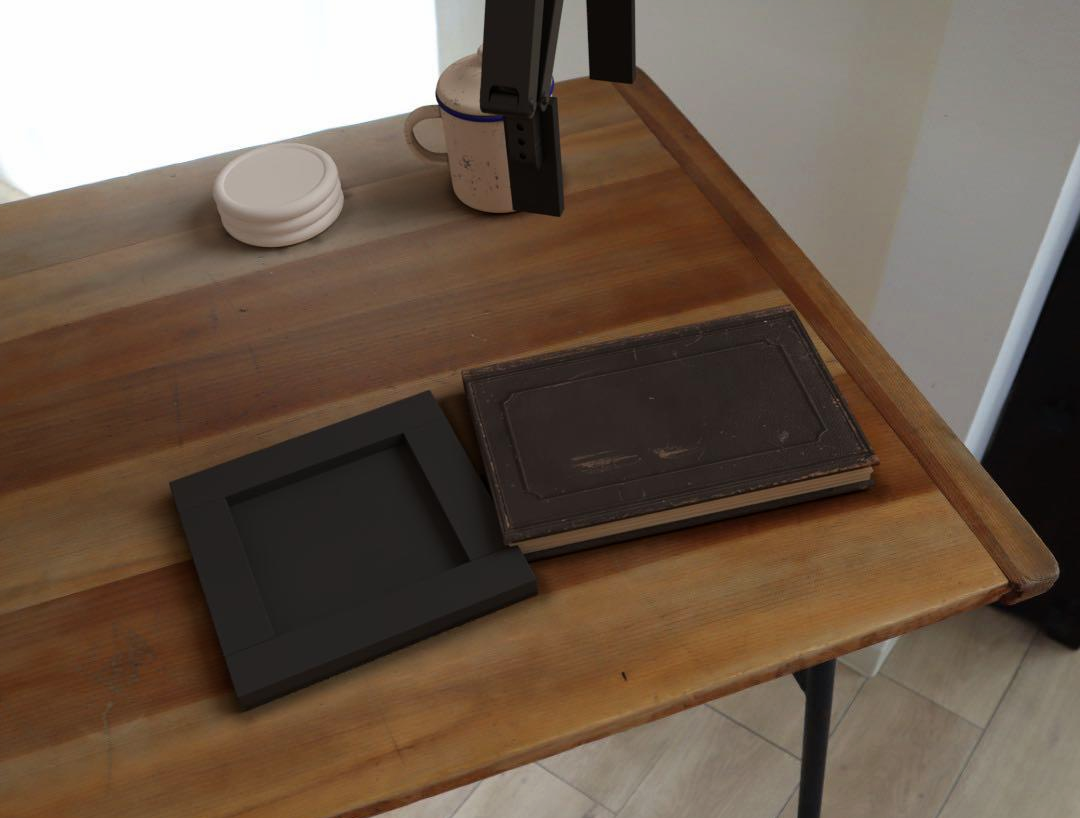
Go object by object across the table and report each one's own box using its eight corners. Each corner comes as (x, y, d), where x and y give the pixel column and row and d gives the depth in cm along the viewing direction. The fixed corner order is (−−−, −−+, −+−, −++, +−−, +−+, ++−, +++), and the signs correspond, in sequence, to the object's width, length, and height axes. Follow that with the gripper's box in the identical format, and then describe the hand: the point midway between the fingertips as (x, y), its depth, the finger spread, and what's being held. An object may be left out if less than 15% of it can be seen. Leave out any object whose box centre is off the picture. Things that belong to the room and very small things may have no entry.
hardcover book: (875, 487, 72) (880, 461, 70) (507, 566, 70) (504, 541, 69) (786, 324, 82) (788, 298, 81) (464, 390, 81) (459, 365, 79)
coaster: (370, 205, 96) (361, 167, 93) (274, 266, 91) (262, 228, 89) (293, 163, 100) (283, 126, 98) (199, 219, 96) (185, 182, 93)
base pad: (175, 497, 77) (168, 481, 75) (433, 405, 80) (430, 388, 79) (244, 712, 66) (236, 697, 64) (539, 594, 69) (537, 578, 68)
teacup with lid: (559, 147, 99) (548, 11, 90) (564, 211, 93) (553, 73, 84) (417, 160, 99) (392, 26, 90) (413, 225, 93) (387, 88, 84)
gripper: (541, -183, 43) (571, 285, 59) (710, -383, 57) (696, 38, 73) (354, -193, 45) (434, 263, 61) (563, -384, 59) (582, 26, 75)
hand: (577, 141), depth 67 cm, fingers open, 13 cm apart
